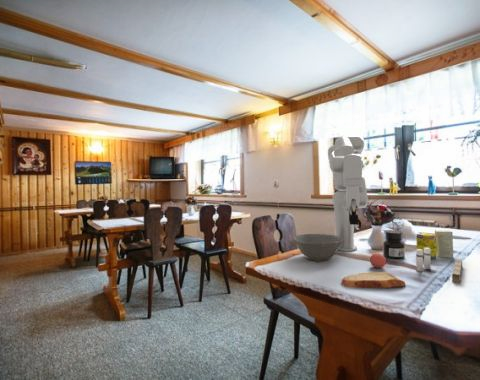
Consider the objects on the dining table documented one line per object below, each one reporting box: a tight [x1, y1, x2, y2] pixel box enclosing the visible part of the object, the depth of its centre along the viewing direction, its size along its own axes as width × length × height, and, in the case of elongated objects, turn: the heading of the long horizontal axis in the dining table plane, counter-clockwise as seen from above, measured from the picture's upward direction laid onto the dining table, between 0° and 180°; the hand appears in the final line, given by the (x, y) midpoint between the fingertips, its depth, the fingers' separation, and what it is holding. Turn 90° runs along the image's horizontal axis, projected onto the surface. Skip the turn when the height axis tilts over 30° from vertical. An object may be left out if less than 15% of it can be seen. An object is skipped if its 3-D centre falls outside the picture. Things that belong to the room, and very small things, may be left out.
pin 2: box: [423, 248, 432, 270], centre depth 110 cm, size 2×2×8 cm
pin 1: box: [415, 248, 424, 273], centre depth 108 cm, size 2×2×8 cm
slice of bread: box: [340, 271, 406, 289], centre depth 96 cm, size 18×18×4 cm
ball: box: [369, 252, 387, 269], centre depth 114 cm, size 6×6×6 cm
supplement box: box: [415, 232, 437, 260], centre depth 127 cm, size 6×6×11 cm
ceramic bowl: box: [293, 233, 343, 262], centre depth 129 cm, size 22×23×10 cm
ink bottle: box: [382, 230, 406, 260], centre depth 129 cm, size 10×9×12 cm
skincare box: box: [434, 229, 454, 259], centre depth 128 cm, size 6×4×12 cm
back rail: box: [451, 258, 463, 284], centre depth 104 cm, size 24×2×3 cm, turn 139°
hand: (353, 222), depth 117 cm, fingers open, 9 cm apart
